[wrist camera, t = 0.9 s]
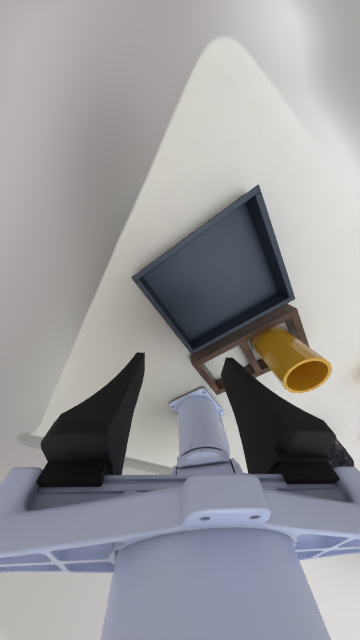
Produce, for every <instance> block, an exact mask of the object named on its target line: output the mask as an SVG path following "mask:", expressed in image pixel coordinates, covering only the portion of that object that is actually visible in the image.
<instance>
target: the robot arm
mask: <svg viewBox="0 0 360 640" xmlns="http://www.w3.org/2000/svg"><path fill="white" fill-rule="evenodd" d="M144 371H145V353H139V352H137V353H136V354H135V356H134V357H133V358H132V359H131V361H130V362H129V363H128V364H127V365H126V366H125V368H124V369H123V370H122V371H121V372H120V373H119V374H118V375H117V376H116V377H115V378H114V379H113V380H112V381H110V382H109V383H108V384H107V385H106V386H104V387H103V388H102V389H101V390H99V391H98V392H97V393H95V394H94V395H92V396H91V397H89V398H88V399H86V400H85V401H83V402H82V403H80V404H79V405H77V406H75V407H73V408H72V409H70V410H68V411H66V412H64V413H63V414H61V415H60V416H59V418H58V419H57V420H56V421H55V422H54V424H53V425H52V427H51V428H50V429H49V431H48V432H47V434H46V435H45V437H44V438H43V440H42V442H41V448H42V451H43V453H44V455H45V457H46V459H47V461H48V463H47V464H46V466H45V468H44V469H43V470H42V469H40V468H35V467H28V468H13V469H11V471H10V472H9V473H8V475H7V476H6V477H5V479H4V480H3V482H2V483H1V485H0V573H7V572H78V573H80V572H83V573H113V575H112V581H111V586H110V592H109V597H108V602H107V608H106V614H105V618H104V624H103V629H102V635H101V640H331V639H330V636H329V634H328V631H327V629H326V626H325V624H324V621H323V619H322V616H321V614H320V611H319V609H318V606H317V604H316V601H315V599H314V596H313V594H312V591H311V589H310V586H309V584H308V582H307V579H306V576H305V574H304V571H303V569H302V567H301V564H300V562H299V560H306V559H314V558H322V557H330V556H339V555H348V554H359V553H360V472H359V471H358V470H357V469H356V468H355V467H335V468H332V467H331V466H330V464H329V463H328V462H330V459H329V457H328V456H327V455H326V452H327V451H328V450H329V449H330V448H331V447H332V446H333V445H334V443H335V442H336V435H335V434H334V432H333V431H332V430H331V429H330V428H329V427H328V426H327V424H326V423H325V422H324V421H323V420H321V419H319V418H317V417H315V416H313V415H311V414H309V413H307V412H305V411H303V410H301V409H300V408H298V407H296V406H294V405H292V404H291V403H289V402H287V401H286V400H284V399H283V398H281V397H279V396H278V395H276V394H275V393H274V392H272V391H271V390H269V389H268V388H267V387H265V386H264V385H263V384H261V383H260V382H259V381H258V380H257V379H255V378H254V377H253V376H252V375H251V374H250V373H249V372H247V371H246V370H245V369H244V368H243V367H242V366H241V365H240V364H239V363H238V362H237V361H236V360H235V359H233V358H226V359H225V363H224V366H223V370H222V373H221V377H222V381H223V385H224V388H225V391H226V393H227V396H228V399H229V401H230V404H231V407H232V409H233V412H234V415H235V418H236V422H237V426H238V429H239V433H240V437H241V441H242V445H243V450H244V454H245V459H246V464H247V469H248V474H247V473H243V472H242V469H241V467H240V465H239V463H238V462H237V461H235V459H234V458H232V459H229V458H230V447H229V443H228V440H227V436H226V433H225V429H224V425H223V422H222V418H221V416H222V415H224V414H225V413H224V411H223V410H222V408H221V407H220V406H219V405H218V404H217V402H216V401H215V400H214V399H213V398H212V397H211V395H210V394H209V393H208V392H207V391H206V389H205V388H203V387H202V388H199V389H197V390H195V391H193V392H191V393H189V394H187V395H185V396H183V397H181V398H178V399H176V400H174V401H172V402H170V403H169V406H170V407H171V408H172V409H173V410H174V411H175V412H176V413H177V414H178V424H179V457H177V466H173V468H172V470H171V472H170V474H169V475H122V469H123V464H124V458H125V453H126V448H127V442H128V437H129V432H130V427H131V422H132V417H133V413H134V409H135V405H136V402H137V399H138V396H139V392H140V389H141V386H142V382H143V377H144ZM203 391H204V392H203Z"/></svg>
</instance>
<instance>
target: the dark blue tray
mask: <svg viewBox="0 0 360 640" xmlns="http://www.w3.org/2000/svg"><path fill="white" fill-rule="evenodd" d="M260 191H261V190H260V187H259V185H257V186H256V187H254V188H253V189H252V190H250V191H249V192H247V193H246V194H245V195H243V196H242V197H241V198H239V199H238V200H237V201H235V202H234V203H232V204H231V205H230V206H228V207H227V208H226V209H224V210H223V211H222V212H220V213H219V214H217V215H216V216H215V217H213V218H212V219H211V220H209V221H208V222H207V223H205V224H204V225H202V226H201V227H200V228H198V229H197V230H196V231H194V232H193V233H192V234H190V235H189V236H187V237H186V238H185V239H183V240H182V241H181V242H179V243H178V244H177V245H175V246H174V247H172V248H171V249H170V250H168V251H167V252H166V253H164V254H163V255H162V256H160V257H159V258H157V259H156V260H155V261H153V262H152V263H151V264H149V265H148V266H147V267H145V268H144V269H142V270H141V271H140V272H138V273H137V274H136V275H134V276H133V277H132V279H133V280H134V281H135V283H136V284H137V285H138V286H139V288H140V289H141V290H142V292H143V293H144V294H145V295H146V297H147V298H148V299H149V301H150V302H151V303H152V304H153V306H154V307H155V308H156V309H157V311H158V312H159V313H160V315H161V316H162V317H163V318H164V320H165V321H166V322H167V323H168V325H169V326H170V327H171V329H172V330H173V331H174V332H175V334H176V335H177V336H178V338H179V339H180V340H181V341H182V343H183V344H184V345H185V346H186V348H187V349H188V350H189V352H190V353H191V354H194V353H196V352H198V351H200V350H202V349H203V348H205V347H207V346H209V345H211V344H213V343H215V342H216V341H218V340H220V339H222V338H224V337H226V336H227V335H229V334H231V333H233V332H235V331H237V330H239V329H240V328H242V327H244V326H246V325H248V324H250V323H252V322H253V321H255V320H257V319H259V318H261V317H263V316H265V315H266V314H268V313H270V312H272V311H274V310H276V309H277V308H279V307H281V306H283V305H285V304H287V303H289V302H290V301H292V300H294V299H295V296H294V293H293V290H292V287H291V284H290V281H289V278H288V274H287V271H286V268H285V265H284V262H283V259H282V256H281V253H280V249H279V246H278V243H277V240H276V237H275V234H274V231H273V228H272V224H271V221H270V218H269V215H268V212H267V209H266V206H265V203H264V199H263V196H262V193H261V192H260Z"/></svg>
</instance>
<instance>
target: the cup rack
mask: <svg viewBox="0 0 360 640" xmlns="http://www.w3.org/2000/svg"><path fill="white" fill-rule="evenodd" d="M284 321H286V323H287V325H288V328H289V331H290V333H291V335H293V336H294V337H296V338H297V339H298V340H300V341H301V342H302V343H304V344H305V345H306V346H308V347H309V344H308V341H307V338H306V335H305V332H304V329H303V326H302V323H301V320H300V317H299V314H298V311H297V308H295V307H293V306H291V305H288V304H286V305H284V306H282V307H280V308H278V309H276V310H275V311H273V312H271V313H269V314H267V315H265V316H263V317H262V318H260V319H258V320H256V321H254V322H252V323H250V324H249V325H247V326H245V327H243V328H241V329H239V330H237V331H236V332H234V333H232V334H230V335H228V336H226V337H225V338H223V339H221V340H219V341H217V342H215V343H213V344H212V345H210V346H208V347H206V348H204V349H202V350H200V351H199V352H197V353H195V354H193V355H191V356H190V357H191V363H192V365H193V366H194V367H195V369H196V370H197V371H198V372H199V374H200V375H201V376H202V377H203V379H204V380H205V381H206V382H207V383H208V385H209V386H210V387H211V388H212V390H213V391H214V392H215V393H216V395H218V394H221V393H223V392H225V388H224V385H223V381H222V379H219V380H217V381H216V380H215V378H214V377H213V376H212V374H211V373H210V372H209V370H208V369H207V368H206V367H205V365H204V364H203V363H205V362H207V361H209V360H211V359H213V358H215V357H217V356H219V355H220V354H222V353H224V352H226V351H228V350H230V349H232V348H234V347H236V346H238V345H239V346H240V347H241V349H242V351H243V352H244V354H245V356H246V358H247V359H248V361H249V363H250V364H251V365H249V366H247V367H244V369H245V370H246V371H247V372H249V373H250V374H251V375H252V376H253V377H254V378H256V377H258V376H260V375H262V374H264V373H266V372H269V371H271V370H270V369H269V368H268V367H267V365H266V364H265V363H264V361H263V360H262V359H261V360H259V361H256V359H255V357H254V355H253V353H252V352H251V350H250V348H249V346H248V344H247V343H246V341H248V340H249V339H251V338H253V337H255V336H257V335H259V334H261V333H263V332H265V331H267V330H269V329H271V328H273V327H275V326H277V325H278V324H280V323H282V322H284ZM309 348H310V347H309Z"/></svg>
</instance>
